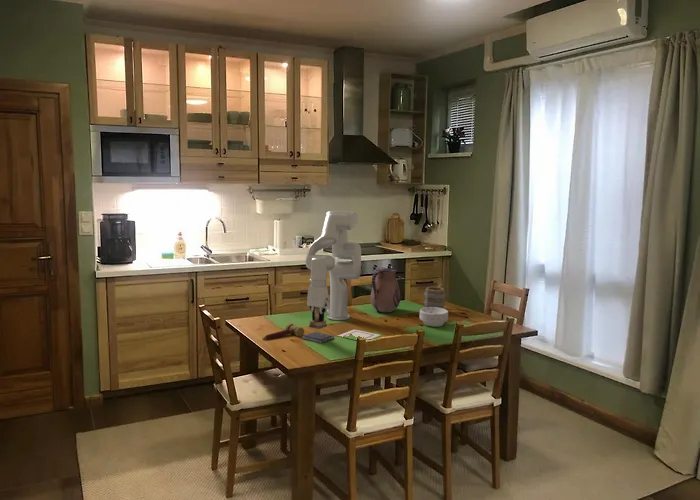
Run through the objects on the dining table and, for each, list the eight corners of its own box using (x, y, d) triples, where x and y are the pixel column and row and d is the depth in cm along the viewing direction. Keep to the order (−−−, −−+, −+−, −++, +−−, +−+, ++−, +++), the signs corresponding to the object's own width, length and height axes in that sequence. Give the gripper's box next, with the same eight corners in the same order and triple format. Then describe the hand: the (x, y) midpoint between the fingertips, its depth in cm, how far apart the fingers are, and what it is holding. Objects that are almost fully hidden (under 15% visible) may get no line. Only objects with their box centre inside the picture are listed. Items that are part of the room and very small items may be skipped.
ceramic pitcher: (404, 309, 335) (406, 268, 331) (388, 317, 317) (390, 273, 313) (378, 305, 344) (379, 265, 340) (361, 313, 326) (362, 270, 322)
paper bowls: (440, 330, 294) (441, 315, 292) (414, 325, 302) (414, 310, 301) (452, 323, 306) (452, 309, 305) (426, 319, 314) (426, 305, 313)
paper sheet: (336, 336, 279) (336, 335, 279) (354, 329, 291) (354, 329, 291) (363, 342, 270) (363, 341, 270) (380, 335, 282) (380, 334, 282)
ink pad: (301, 338, 274) (301, 335, 274) (314, 334, 282) (315, 331, 282) (321, 343, 267) (321, 340, 267) (334, 338, 275) (334, 335, 275)
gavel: (267, 336, 266) (256, 331, 274) (268, 346, 267) (257, 340, 275) (304, 326, 279) (293, 322, 287) (304, 335, 280) (293, 331, 288)
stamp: (309, 326, 273) (309, 306, 272) (317, 324, 278) (317, 304, 276) (318, 329, 270) (319, 308, 268) (326, 326, 274) (326, 306, 273)
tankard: (440, 315, 323) (441, 289, 321) (419, 312, 329) (420, 287, 327) (452, 308, 340) (453, 284, 338) (432, 305, 347) (433, 281, 344)
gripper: (300, 282, 273) (300, 319, 275) (327, 286, 263) (326, 324, 266) (310, 279, 279) (309, 316, 281) (337, 284, 269) (336, 321, 272)
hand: (318, 320), depth 273 cm, fingers closed on stamp, 3 cm apart
